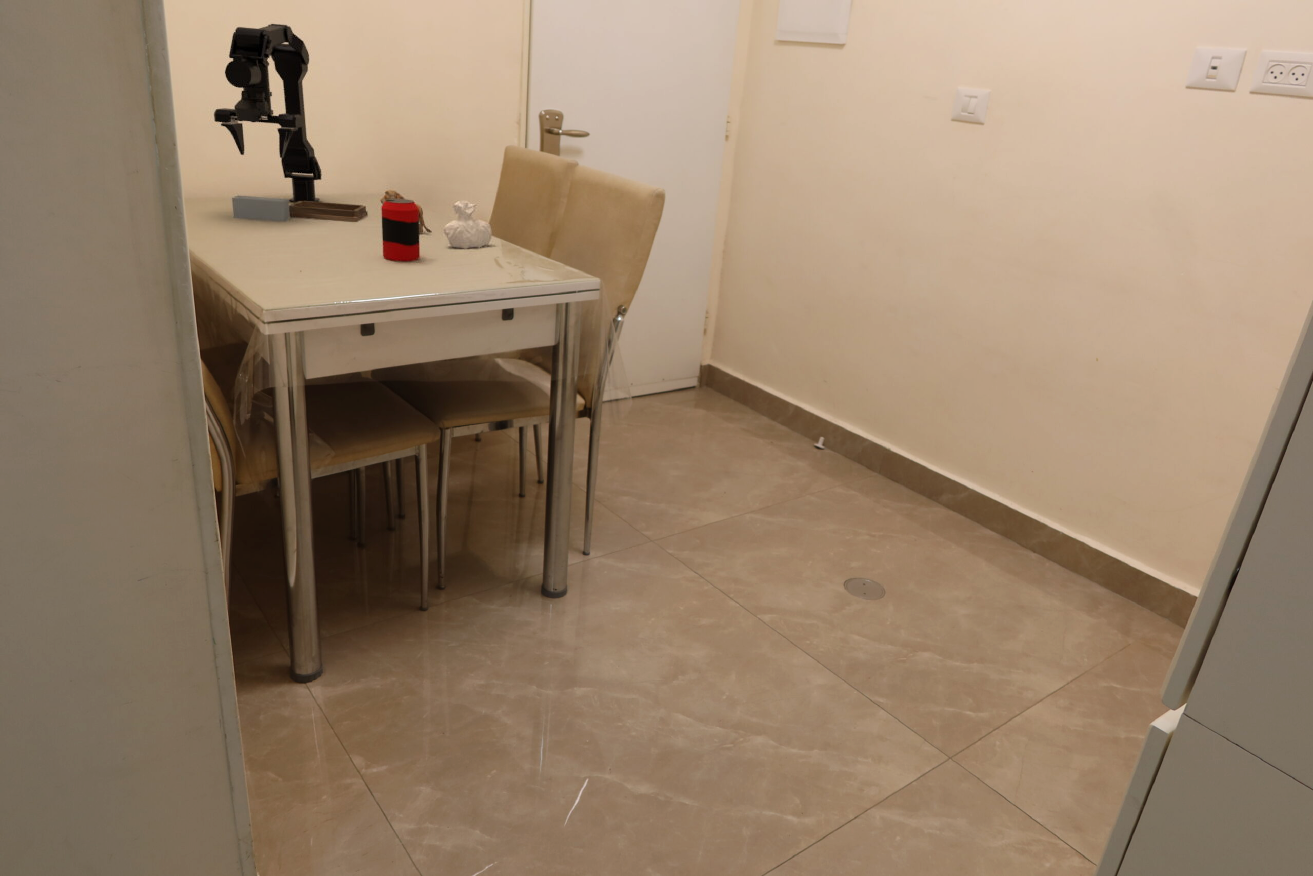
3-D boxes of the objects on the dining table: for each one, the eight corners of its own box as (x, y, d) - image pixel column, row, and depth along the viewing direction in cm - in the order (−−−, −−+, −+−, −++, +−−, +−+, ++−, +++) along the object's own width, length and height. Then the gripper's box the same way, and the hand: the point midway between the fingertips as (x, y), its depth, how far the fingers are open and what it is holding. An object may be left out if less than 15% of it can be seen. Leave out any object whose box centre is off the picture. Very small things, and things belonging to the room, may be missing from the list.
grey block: (240, 216, 224) (238, 195, 222) (289, 219, 224) (288, 199, 222) (234, 218, 220) (231, 197, 218) (284, 222, 221) (283, 201, 219)
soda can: (381, 254, 196) (379, 197, 191) (416, 254, 199) (415, 198, 194) (385, 261, 190) (383, 203, 185) (422, 261, 192) (421, 204, 188)
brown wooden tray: (301, 209, 237) (300, 200, 236) (367, 214, 238) (367, 205, 237) (287, 216, 226) (286, 206, 225) (356, 221, 228) (355, 211, 227)
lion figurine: (378, 226, 224) (376, 189, 221) (393, 224, 228) (392, 188, 225) (424, 236, 218) (424, 197, 215) (439, 233, 223) (438, 196, 219)
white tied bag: (488, 253, 216) (474, 210, 217) (502, 238, 210) (487, 194, 212) (443, 256, 209) (428, 212, 210) (455, 241, 203) (440, 196, 204)
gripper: (200, 84, 203) (207, 156, 209) (285, 91, 204) (290, 162, 210) (220, 82, 213) (227, 151, 219) (301, 89, 214) (305, 158, 220)
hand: (262, 156), depth 217 cm, fingers open, 9 cm apart
